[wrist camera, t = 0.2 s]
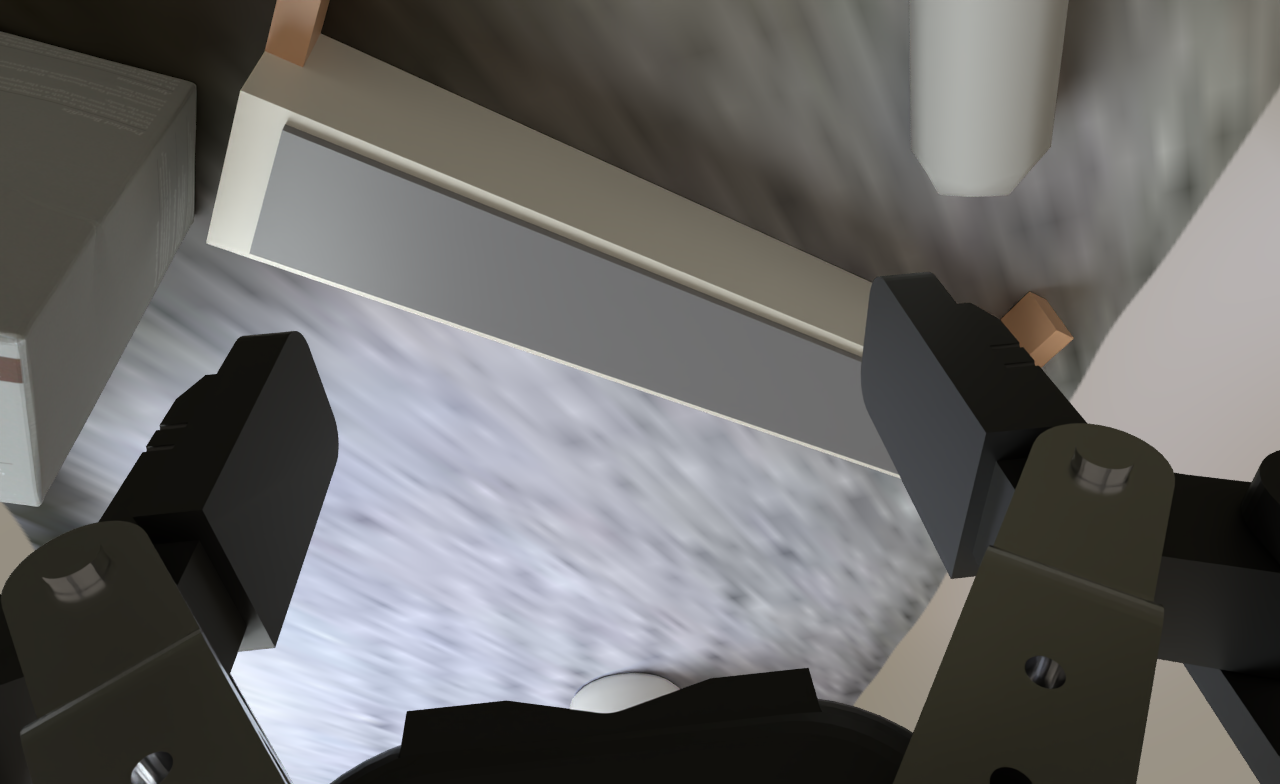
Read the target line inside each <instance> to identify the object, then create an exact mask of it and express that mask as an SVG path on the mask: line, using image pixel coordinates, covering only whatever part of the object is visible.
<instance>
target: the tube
mask: <svg viewBox="0 0 1280 784" xmlns="http://www.w3.org/2000/svg"><path fill="white" fill-rule="evenodd" d="M1068 3H1069V0H909V25H910V124H911V150H912V152H913V153H914V155H915V156H916V158H917V159H918V161H919V162H920V164H921V165H922V167H923V168H924V170H925V171H926V173H927V174H928V176H929V178H930V180H931V181H932V183H933V185H934V187H935V188H936V190H937V192H938V194H939V195H949V196H965V197H982V196H1003V195H1009V194H1010V193H1011V192H1012V191H1013V190H1014V188H1015V187H1016V186H1017V185H1018V184H1019V183H1020V182H1021V180H1022V179H1023V178H1024V177H1025V176H1026V175H1027V173H1028V172H1029V171H1030V170H1031V169H1032V168H1033V167H1034V165H1035V164H1036V163H1037V162H1038V161H1039V160H1040V159H1041V157H1042V156H1043V155H1044V154H1045V153H1046V152H1047V150H1048V149H1049V148H1050V147H1051V140H1052V132H1053V124H1054V116H1055V108H1056V100H1057V92H1058V84H1059V76H1060V68H1061V60H1062V51H1063V43H1064V35H1065V27H1066V19H1067V11H1068Z"/></svg>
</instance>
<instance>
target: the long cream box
mask: <svg viewBox="0 0 1280 784" xmlns="http://www.w3.org/2000/svg"><path fill="white" fill-rule="evenodd" d="M329 1H330V0H277V2H276V6H275V10H274V15H273V19H272V23H271V27H270V32H269V36H268V40H267V44H266V49H265V52H264V53H263V55H262V56H261V58H260V60H259V61H258V63H257V64H256V66H255V68H254V69H253V71H252V72H251V74H250V76H249V77H248V79H247V80H246V82H245V84H244V85H243V87H242V88H241V90H240V94H239V99H238V103H237V108H236V112H235V116H234V121H233V125H232V130H231V134H230V139H229V143H228V148H227V152H226V157H225V161H224V166H223V170H222V175H221V179H220V183H219V188H218V192H217V197H216V201H215V206H214V210H213V215H212V219H211V224H210V228H209V233H208V237H207V242H206V243H207V244H210V245H213V246H216V247H219V248H222V249H225V250H228V251H231V252H233V253H236V254H239V255H242V256H245V257H248V258H251V259H254V260H257V261H260V262H263V263H266V264H269V265H272V266H275V267H278V268H281V269H284V270H287V271H290V272H293V273H296V274H298V275H301V276H304V277H307V278H310V279H313V280H316V281H319V282H322V283H325V284H328V285H331V286H334V287H337V288H340V289H343V290H346V291H349V292H352V293H355V294H358V295H360V296H363V297H366V298H369V299H372V300H375V301H378V302H381V303H384V304H387V305H390V306H393V307H396V308H399V309H402V310H405V311H408V312H411V313H414V314H417V315H420V316H423V317H425V318H428V319H431V320H434V321H437V322H440V323H443V324H446V325H449V326H452V327H455V328H458V329H461V330H464V331H467V332H470V333H473V334H476V335H479V336H482V337H485V338H487V339H490V340H493V341H496V342H499V343H502V344H505V345H508V346H511V347H514V348H517V349H520V350H523V351H526V352H529V353H532V354H535V355H538V356H541V357H544V358H547V359H550V360H552V361H555V362H558V363H561V364H564V365H567V366H570V367H573V368H576V369H579V370H582V371H585V372H588V373H591V374H594V375H597V376H600V377H603V378H606V379H609V380H612V381H614V382H617V383H620V384H623V385H626V386H629V387H632V388H635V389H638V390H641V391H644V392H647V393H650V394H653V395H656V396H659V397H662V398H665V399H668V400H671V401H674V402H676V403H679V404H682V405H685V406H688V407H691V408H694V409H697V410H700V411H703V412H706V413H709V414H712V415H715V416H718V417H721V418H724V419H727V420H730V421H733V422H736V423H739V424H741V425H744V426H747V427H750V428H753V429H756V430H759V431H762V432H765V433H768V434H771V435H774V436H777V437H780V438H783V439H786V440H789V441H792V442H795V443H798V444H801V445H803V446H806V447H809V448H812V449H815V450H818V451H821V452H824V453H827V454H830V455H833V456H836V457H839V458H842V459H845V460H848V461H851V462H854V463H857V464H860V465H863V466H866V467H868V468H871V469H874V470H877V471H880V472H883V473H886V474H889V475H892V476H895V477H898V478H900V476H899V474H898V472H897V470H896V468H895V466H894V464H893V462H892V460H891V458H890V456H889V454H888V452H887V450H886V448H885V446H884V444H883V442H882V440H881V438H880V436H879V434H878V432H877V430H876V428H875V426H874V424H873V422H872V420H871V418H870V416H869V414H868V411H867V409H866V406H865V403H864V400H863V395H862V388H861V362H862V354H863V345H864V337H865V328H866V320H867V311H868V303H869V295H870V289H871V285H872V282H869V281H867V280H865V279H863V278H861V277H858V276H856V275H854V274H852V273H850V272H847V271H845V270H843V269H841V268H838V267H836V266H834V265H832V264H830V263H827V262H825V261H823V260H821V259H819V258H816V257H814V256H812V255H810V254H807V253H805V252H803V251H801V250H799V249H796V248H794V247H792V246H790V245H788V244H785V243H783V242H781V241H779V240H777V239H774V238H772V237H770V236H768V235H765V234H763V233H761V232H759V231H757V230H754V229H752V228H750V227H748V226H746V225H743V224H741V223H739V222H737V221H735V220H732V219H730V218H728V217H726V216H723V215H721V214H719V213H717V212H715V211H712V210H710V209H708V208H706V207H704V206H701V205H699V204H697V203H695V202H693V201H690V200H688V199H686V198H684V197H681V196H679V195H677V194H675V193H673V192H670V191H668V190H666V189H664V188H662V187H659V186H657V185H655V184H653V183H650V182H648V181H646V180H644V179H642V178H639V177H637V176H635V175H633V174H631V173H628V172H626V171H624V170H622V169H620V168H617V167H615V166H613V165H611V164H608V163H606V162H604V161H602V160H600V159H597V158H595V157H593V156H591V155H589V154H586V153H584V152H582V151H580V150H578V149H575V148H573V147H571V146H569V145H566V144H564V143H562V142H560V141H558V140H555V139H553V138H551V137H549V136H547V135H544V134H542V133H540V132H538V131H536V130H533V129H531V128H529V127H527V126H524V125H522V124H520V123H518V122H516V121H513V120H511V119H509V118H507V117H505V116H502V115H500V114H498V113H496V112H493V111H491V110H489V109H487V108H485V107H482V106H480V105H478V104H476V103H474V102H471V101H469V100H467V99H465V98H463V97H460V96H458V95H456V94H454V93H451V92H449V91H447V90H445V89H443V88H440V87H438V86H436V85H434V84H432V83H429V82H427V81H425V80H423V79H421V78H418V77H416V76H414V75H412V74H409V73H407V72H405V71H403V70H401V69H398V68H396V67H394V66H392V65H390V64H387V63H385V62H383V61H381V60H379V59H376V58H374V57H372V56H370V55H367V54H365V53H363V52H361V51H359V50H356V49H354V48H352V47H350V46H348V45H345V44H343V43H341V42H339V41H336V40H334V39H332V38H330V37H328V36H325V35H323V34H321V30H322V27H323V23H324V20H325V16H326V12H327V9H328V5H329ZM1001 321H1002V322H1003V323H1004V325H1005V326H1006V327H1007V328H1008V329H1009V331H1010V332H1011V333H1012V334H1013V335H1014V337H1015V338H1016V339H1017V340H1018V341H1019V346H1020V347H1024V349H1025V350H1026V351H1027V352H1028V353H1029V354H1030V356H1031V357H1032V358H1033V359H1034V360H1035V366H1038V365H1039V366H1040V368H1041V367H1042V366H1043V365H1045V364H1046V363H1047V362H1048V361H1049V360H1050V359H1051V358H1052V357H1054V356H1055V355H1056V354H1057V353H1058V352H1059V351H1060V350H1061V349H1063V348H1064V347H1065V346H1066V345H1067V344H1068V343H1069V342H1070V341H1072V340H1073V339H1074V338H1073V336H1072V335H1071V334H1070V332H1069V331H1068V329H1067V328H1066V327H1065V325H1064V324H1063V322H1062V321H1061V320H1060V318H1059V317H1058V315H1057V314H1056V313H1055V311H1054V310H1053V309H1052V307H1051V306H1050V304H1049V303H1048V302H1047V300H1046V299H1044V298H1042V297H1040V296H1038V295H1036V294H1034V293H1032V292H1030V291H1029V292H1028V293H1027V294H1026V295H1025V296H1024V297H1023V298H1022V299H1021V300H1020V301H1019V302H1018V303H1017V304H1016V305H1015V306H1014V307H1013V308H1012V309H1011V310H1010V311H1009V312H1008V313H1007V314H1006V315H1005V316H1004V317H1003V318H1002V319H1001Z"/></svg>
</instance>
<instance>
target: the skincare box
mask: <svg viewBox="0 0 1280 784" xmlns="http://www.w3.org/2000/svg"><path fill="white" fill-rule="evenodd" d="M196 97H197V92H196V85H195V84H194V83H192V82H189V81H186V80H182V79H178V78H174V77H170V76H166V75H163V74H159V73H155V72H151V71H147V70H143V69H140V68H136V67H132V66H128V65H124V64H120V63H117V62H113V61H109V60H105V59H101V58H97V57H94V56H90V55H86V54H83V53H79V52H75V51H72V50H68V49H64V48H61V47H57V46H53V45H50V44H46V43H42V42H38V41H35V40H31V39H27V38H23V37H20V36H16V35H12V34H8V33H4V32H1V31H0V502H7V503H15V504H23V505H30V506H39V505H41V504H42V501H43V499H44V497H45V495H46V493H47V491H48V490H49V488H50V486H51V485H52V483H53V481H54V479H55V478H56V476H57V474H58V472H59V470H60V468H61V467H62V465H63V463H64V461H65V459H66V457H67V455H68V454H69V452H70V450H71V448H72V446H73V445H74V443H75V441H76V439H77V437H78V435H79V434H80V432H81V430H82V428H83V426H84V424H85V423H86V421H87V419H88V417H89V415H90V413H91V411H92V410H93V408H94V406H95V404H96V402H97V400H98V398H99V397H100V395H101V393H102V391H103V389H104V387H105V385H106V383H107V382H108V380H109V378H110V376H111V374H112V372H113V370H114V369H115V367H116V365H117V363H118V361H119V359H120V357H121V355H122V354H123V352H124V350H125V348H126V346H127V344H128V342H129V341H130V339H131V337H132V335H133V333H134V331H135V329H136V327H137V326H138V324H139V322H140V320H141V318H142V316H143V314H144V312H145V311H146V309H147V307H148V305H149V303H150V301H151V299H152V297H153V296H154V294H155V292H156V290H157V288H158V286H159V284H160V282H161V281H162V279H163V277H164V275H165V273H166V271H167V269H168V267H169V265H170V264H171V262H172V260H173V258H174V256H175V254H176V252H177V250H178V249H179V247H180V245H181V243H182V241H183V239H184V237H185V236H186V234H187V232H188V230H189V228H190V226H191V225H192V223H193V221H194V195H195V139H196Z"/></svg>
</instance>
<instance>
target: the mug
mask: <svg viewBox="0 0 1280 784" xmlns="http://www.w3.org/2000/svg"><path fill="white" fill-rule="evenodd" d="M677 690H680V688H678V687H677V686H676V685H674V684H673V683H671V682H670V681H669V680H667V679H665V678H662V677H660V676H657V675H651V674H646V673H624V674H616V675H611V676H607V677H603V678H601V679H598V680H595V681H593V682H591V683H589V684H588V685H586V686H585V687H583V688H582V689H581V690H580V691H579V692H578V693H577V694H576V695H575V696H574V697H573V699H572V701H571V704H570V709H574V710H581V711H589V712H597V713H613V712H617V711H621V710H624V709H627V708H630V707H632V706H635V705H638V704H641V703H644V702H646V701H649V700H652V699H655V698H658V697H660V696H663V695H666V694H669V693H672V692H674V691H677Z"/></svg>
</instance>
